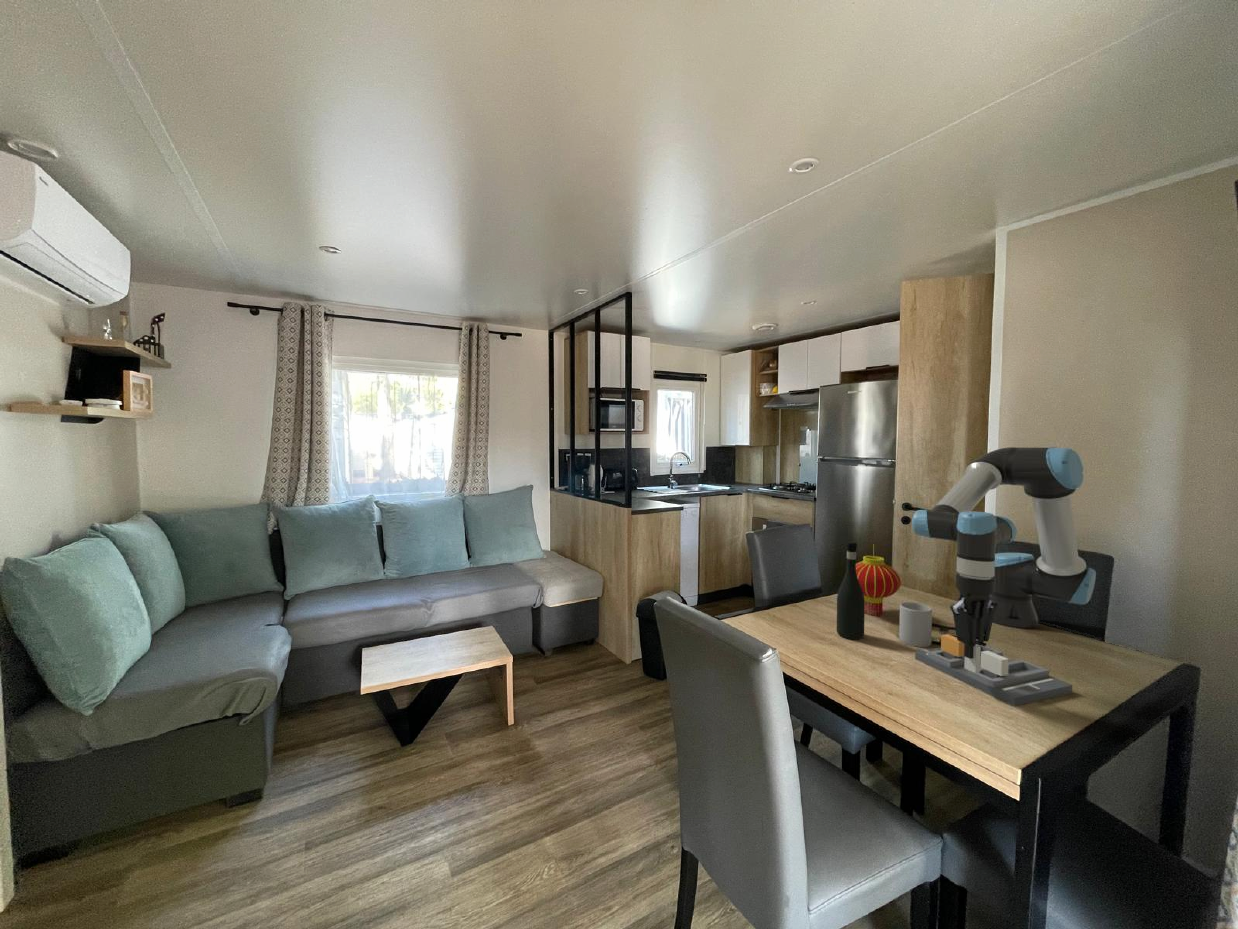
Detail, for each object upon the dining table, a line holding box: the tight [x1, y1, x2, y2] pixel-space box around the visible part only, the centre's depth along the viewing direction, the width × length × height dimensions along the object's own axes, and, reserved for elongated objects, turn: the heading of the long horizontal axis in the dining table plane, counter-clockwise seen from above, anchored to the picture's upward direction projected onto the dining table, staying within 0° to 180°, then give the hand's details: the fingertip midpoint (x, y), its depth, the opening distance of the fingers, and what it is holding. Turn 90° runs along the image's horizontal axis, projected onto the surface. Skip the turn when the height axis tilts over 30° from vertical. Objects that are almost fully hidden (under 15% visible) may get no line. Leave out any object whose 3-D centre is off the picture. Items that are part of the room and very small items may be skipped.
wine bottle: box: [836, 541, 865, 640], centre depth 152 cm, size 8×8×30 cm
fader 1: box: [940, 633, 964, 659], centre depth 130 cm, size 3×5×6 cm, turn 17°
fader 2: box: [981, 651, 1010, 679], centre depth 120 cm, size 3×5×6 cm, turn 17°
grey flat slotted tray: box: [914, 645, 1073, 707], centre depth 126 cm, size 20×26×4 cm
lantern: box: [856, 545, 902, 617], centre depth 172 cm, size 17×17×30 cm
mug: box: [898, 601, 933, 648], centre depth 149 cm, size 12×8×11 cm
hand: (972, 670), depth 118 cm, fingers closed
